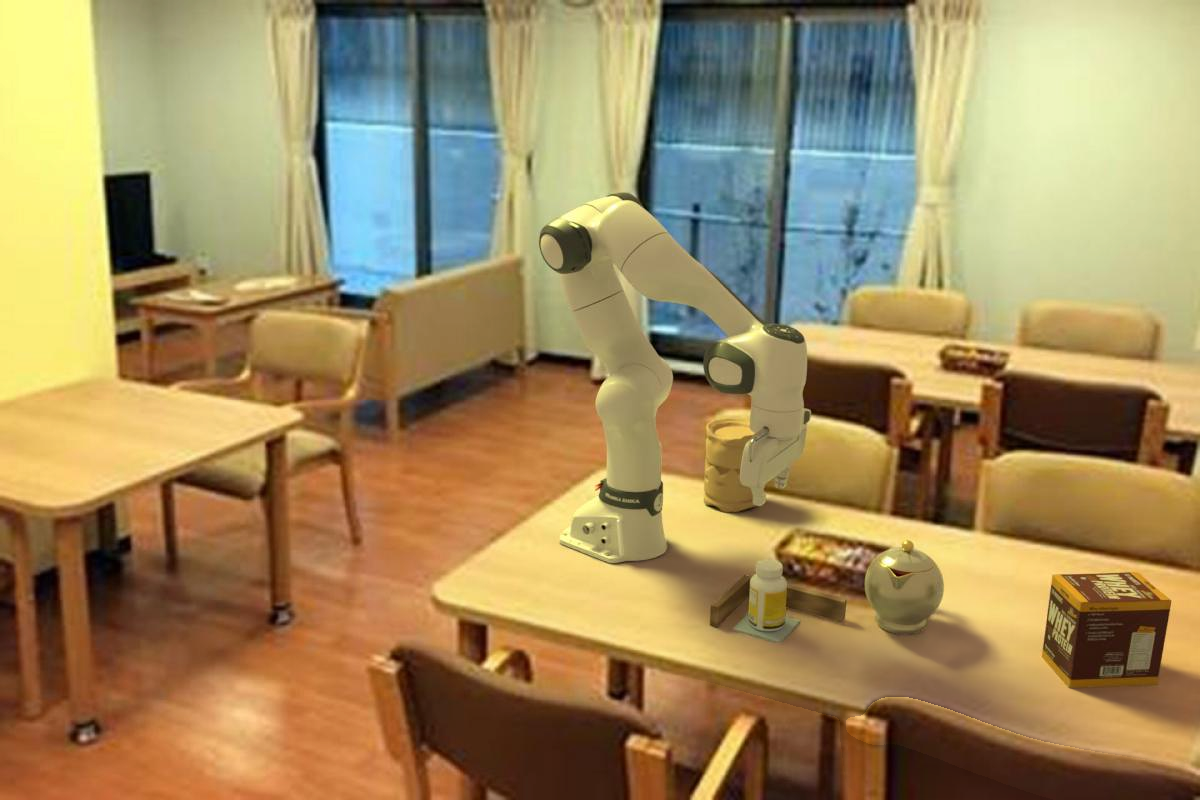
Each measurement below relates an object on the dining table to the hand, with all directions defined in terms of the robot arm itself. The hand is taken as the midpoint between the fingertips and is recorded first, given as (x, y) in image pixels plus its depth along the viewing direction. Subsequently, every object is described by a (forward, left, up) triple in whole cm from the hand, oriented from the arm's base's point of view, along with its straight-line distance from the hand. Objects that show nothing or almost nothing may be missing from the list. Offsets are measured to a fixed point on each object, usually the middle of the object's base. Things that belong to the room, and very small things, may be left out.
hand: (769, 495), depth 205 cm
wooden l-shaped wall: (+2, +1, -24) cm, 25 cm away
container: (-29, +49, -25) cm, 62 cm away
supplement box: (+54, +14, -25) cm, 61 cm away
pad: (+1, -1, -24) cm, 24 cm away
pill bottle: (+1, -1, -24) cm, 24 cm away
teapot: (+21, +14, -25) cm, 35 cm away
